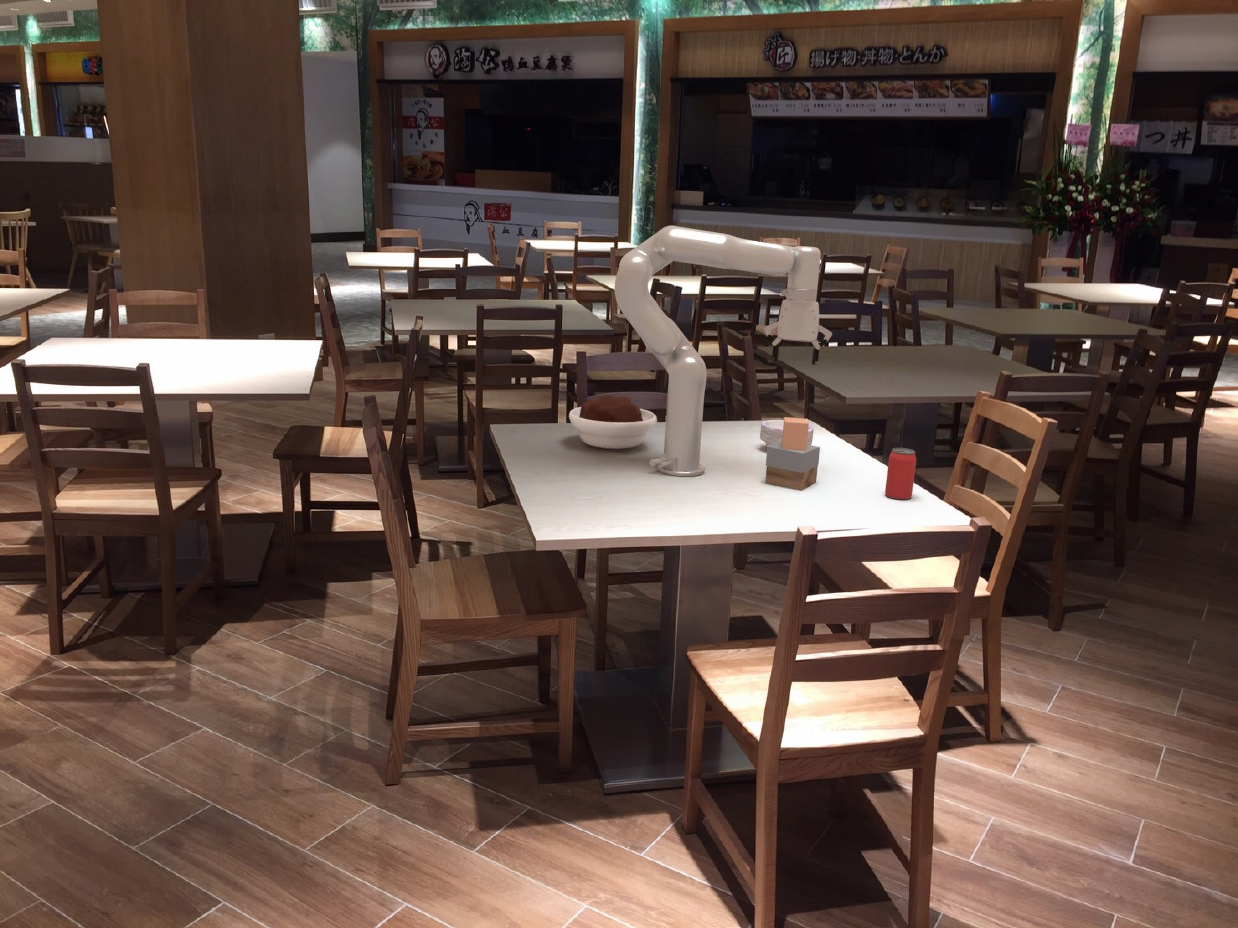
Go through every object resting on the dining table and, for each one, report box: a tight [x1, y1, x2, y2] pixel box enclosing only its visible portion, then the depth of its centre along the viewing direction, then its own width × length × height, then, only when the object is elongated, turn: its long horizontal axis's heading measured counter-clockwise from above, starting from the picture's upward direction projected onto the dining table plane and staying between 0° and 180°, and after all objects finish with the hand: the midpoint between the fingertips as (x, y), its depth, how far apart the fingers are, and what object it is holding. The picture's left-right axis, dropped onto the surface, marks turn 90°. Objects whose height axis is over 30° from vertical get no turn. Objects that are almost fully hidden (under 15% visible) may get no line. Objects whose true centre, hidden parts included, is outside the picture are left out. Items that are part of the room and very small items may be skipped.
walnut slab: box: [764, 465, 819, 492], centre depth 265 cm, size 10×10×5 cm
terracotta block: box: [782, 416, 810, 451], centre depth 262 cm, size 6×6×7 cm
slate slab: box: [765, 442, 821, 473], centre depth 264 cm, size 10×10×5 cm
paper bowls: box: [759, 419, 815, 447], centre depth 299 cm, size 15×15×8 cm
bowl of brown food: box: [568, 394, 657, 450], centre depth 294 cm, size 25×25×15 cm
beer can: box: [884, 447, 917, 501], centre depth 256 cm, size 7×7×12 cm
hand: (794, 362), depth 266 cm, fingers open, 9 cm apart
